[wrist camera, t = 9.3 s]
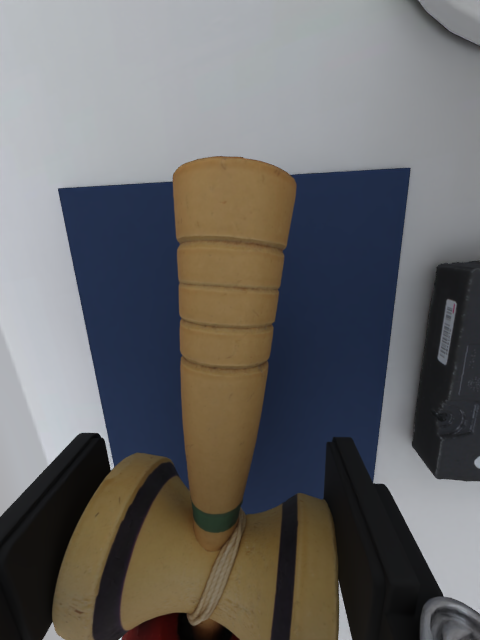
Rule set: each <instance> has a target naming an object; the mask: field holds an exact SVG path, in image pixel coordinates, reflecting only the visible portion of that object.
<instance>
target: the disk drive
mask: <svg viewBox="0 0 480 640" xmlns="http://www.w3.org/2000/svg"><path fill="white" fill-rule="evenodd" d="M414 429H415V431H414V435H413V441H412V446H413V448H414V449H415V450H416V452H417V453H418V455H419V456H420V457H421V459H422V460H423V461H424V463H425V464H426V466H427V467H428V468H429V469H430V471H431V472H432V473H433V475H434V476H435V477H436V478H437V479H452V480H462V481H480V261H472V262H468V263H459V262H457V263H452V264H448V263H444V264H440V265H438V266H437V270H436V280H435V283H434V291H433V296H432V300H431V306H430V313H429V320H428V328H427V336H426V344H425V350H424V358H423V365H422V371H421V378H420V387H419V394H418V399H417V407H416V414H415V427H414Z"/></svg>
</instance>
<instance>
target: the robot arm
mask: <svg viewBox="0 0 480 640" xmlns="http://www.w3.org/2000/svg"><path fill="white" fill-rule="evenodd" d="M418 1H419V2H420V4H421V5H422V6H423V8H424V9H425V10H426V12H427V13H429V14H430V15H431V16H432V17H433V18H435V19H436V20H437V21H438V22H439V23H441V24H442V25H443V26H444V27H445V28H447V29H448V30H449V31H450V32H452V33H454V34H456V35H458V36H460V37H462V38H464V39H466V40H469V41H471V42H473V43H475V44H477V45H479V46H480V0H418ZM110 472H111V470H110V465H109V460H108V455H107V450H106V445H105V441H104V439H103V438H101V437H100V435H99V434H98V433H80V434H79V435H77V436H76V437H75V439H74V440H73V441H72V442H71V443H70V444H69V445H68V446H67V447H66V448H65V449H64V450H63V451H62V452H61V453H60V454H59V455H58V456H57V458H56V459H55V460H54V461H53V462H52V463H51V464H50V465H49V466H48V467H47V468H46V469H45V470H44V471H43V472H42V474H40V475H39V477H38V478H37V479H36V480H35V481H34V482H33V483H32V484H31V485H30V486H29V487H28V488H27V489H26V490H25V491H24V492H23V493H22V495H21V496H20V497H19V498H18V499H17V500H16V501H15V502H14V503H13V504H12V505H11V506H10V507H9V508H8V509H7V510H6V511H5V512H4V513H3V515H2V516H1V517H0V640H42V639H43V638H44V636H45V634H46V633H47V631H48V629H49V627H50V625H51V623H52V607H53V598H54V593H55V588H56V583H57V579H58V575H59V571H60V568H61V564H62V561H63V558H64V555H65V552H66V549H67V547H68V544H69V542H70V539H71V537H72V534H73V532H74V530H75V528H76V526H77V524H78V522H79V520H80V518H81V516H82V514H83V512H84V510H85V508H86V506H87V505H88V503H89V501H90V500H91V498H92V496H93V495H94V493H95V492H96V490H97V489H98V487H99V486H100V484H101V483H102V482H103V480H104V479H105V477H106V476H107V475H108V474H109V473H110ZM323 499H324V500H325V501H326V502H327V504H328V507H329V509H330V511H331V514H332V517H333V522H334V526H335V536H336V545H337V555H338V579H339V584H340V588H341V593H342V597H343V601H344V606H345V610H346V614H347V619H348V623H349V627H350V632H351V636H352V640H480V614H479V613H478V612H476V611H475V610H473V609H472V608H470V607H469V606H467V605H466V604H464V603H462V602H460V601H457V600H455V599H452V598H449V597H444V596H443V594H442V592H441V590H440V588H439V586H438V584H437V582H436V580H435V578H434V576H433V574H432V572H431V570H430V569H429V567H428V565H427V563H426V561H425V559H424V557H423V555H422V553H421V551H420V549H419V547H418V545H417V543H416V541H415V540H414V538H413V536H412V534H411V532H410V530H409V528H408V526H407V524H406V522H405V520H404V518H403V516H402V514H401V512H400V511H399V509H398V507H397V505H396V503H395V501H394V499H393V497H392V495H391V493H390V491H389V490H388V488H387V487H386V486H385V485H384V484H373V482H372V480H371V478H370V475H369V473H368V471H367V469H366V467H365V465H364V463H363V460H362V458H361V456H360V454H359V452H358V450H357V448H356V445H355V443H354V441H353V439H352V438H351V437H333V439H332V442H327V444H326V461H325V479H324V498H323Z"/></svg>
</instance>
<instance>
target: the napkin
mask: <svg viewBox="0 0 480 640" xmlns="http://www.w3.org/2000/svg"><path fill="white" fill-rule="evenodd" d="M410 169H411V168H396V169H380V170H363V171H346V172H329V173H312V174H295V175H290V176H291V177H293V178H294V179H295V182H296V197H295V203H294V208H293V214H292V219H291V225H290V230H289V235H288V241H287V246H286V248H285V249H284V250H283V254H284V264H283V271H282V277H281V284H280V287H279V288H278V291H279V297H278V304H277V311H276V317H275V322H273V323H272V326H273V327H274V328H273V338H272V344H271V352H270V357H269V359H268V360H267V361H268V374H267V380H266V387H265V394H264V400H263V406H262V412H261V418H260V423H259V429H258V434H257V439H256V444H255V448H254V453H253V457H252V462H251V466H250V471H249V474H248V479H247V482H246V487H245V491H244V495H243V504H242V505H241V508H242V510H243V511H244V513H245V515H247V514H257V513H261V512H265V511H267V510H270V509H273V508H275V507H277V506H279V505H281V504H282V503H283V502H286V501H287V499H289V498H291V497H293V496H294V495H296V494H298V493H303V494H306V495H309V496H312V497H315V498H318V499H321V500H323V498H324V479H325V461H326V444H327V442H332V439H333V437H351V438H352V439H353V441H354V443H355V445H356V448H357V450H358V452H359V454H360V456H361V458H362V460H363V463H364V465H365V467H366V469H367V471H368V473H369V475H370V478H371V480H372V482H373V479H374V470H375V462H376V454H377V445H378V437H379V428H380V420H381V412H382V403H383V395H384V387H385V378H386V370H387V361H388V353H389V345H390V336H391V328H392V320H393V311H394V303H395V294H396V286H397V278H398V269H399V261H400V253H401V244H402V236H403V227H404V219H405V211H406V202H407V194H408V186H409V177H410ZM58 192H59V197H60V201H61V206H62V211H63V216H64V221H65V226H66V231H67V236H68V241H69V246H70V251H71V256H72V261H73V266H74V271H75V276H76V280H77V285H78V290H79V295H80V300H81V305H82V310H83V315H84V320H85V325H86V330H87V335H88V340H89V345H90V350H91V354H92V359H93V364H94V369H95V374H96V379H97V384H98V389H99V394H100V399H101V404H102V409H103V414H104V419H105V424H106V428H107V433H108V438H109V443H110V448H111V453H112V458H113V463H114V467H115V466H116V465H117V464H118V463H120V462H121V461H122V460H123V459H125V458H126V457H128V456H130V455H132V454H135V453H146V454H151V455H156V456H163V457H167V458H169V459H171V461H172V462H173V464H174V466H175V469H176V471H177V473H178V474H179V477H180V479H181V481H182V482H183V483H184V485H185V486H186V487H187V488H188V489H189V480H188V471H187V461H186V454H185V443H184V432H183V420H182V401H181V371H180V365H181V357H182V356H183V355H182V354H181V352H180V321H181V319H182V318H181V317H180V314H179V283H180V282H179V279H178V264H177V249H178V247H179V246H180V243H179V242H178V241H177V238H176V226H175V212H174V197H173V182H160V183H143V184H126V185H109V186H93V187H76V188H59V189H58ZM189 491H190V489H189Z"/></svg>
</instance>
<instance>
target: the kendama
mask: <svg viewBox="0 0 480 640" xmlns="http://www.w3.org/2000/svg"><path fill="white" fill-rule="evenodd" d="M173 197H174V212H175V226H176V238H177V241H178V242H179V243H180V246H179V247H178V249H177V264H178V279H179V282H180V283H179V314H180V317H181V318H182V319H181V321H180V352H181V354H182V355H183V356H182V357H181V365H180V371H181V401H182V420H183V432H184V443H185V454H186V461H187V471H188V480H189V489H190V491H189V489H188V488H187V487H186V486H185V485H184V483H183V482H182V481H181V479H180V477H179V474H178V473H177V471H176V469H175V466H174V464H173V462H172V461H171V459H169V458H167V457H163V456H156V455H151V454H146V453H135V454H132V455H130V456H128V457H126V458H125V459H123V460H122V461H121V462H120V463H118V464H117V465H116V466H115V467H114V468H113V469H112V470H111V472H110V473H109V474H108V475H107V476H106V477H105V479H104V480H103V482H102V483H101V484H100V486H99V487H98V489H97V490H96V492H95V493H94V495H93V496H92V498H91V500H90V501H89V503H88V505H87V506H86V508H85V510H84V512H83V514H82V516H81V518H80V520H79V522H78V524H77V526H76V528H75V530H74V532H73V534H72V537H71V539H70V542H69V544H68V547H67V549H66V552H65V555H64V558H63V561H62V564H61V568H60V571H59V575H58V579H57V583H56V588H55V593H54V598H53V607H52V622H53V624H54V627H55V631H56V633H57V634H58V635H59V636H61V637H62V638H63V639H65V640H119V639H120V638H121V637H122V636H123V637H122V640H338V633H339V583H338V555H337V545H336V536H335V526H334V522H333V517H332V514H331V511H330V509H329V507H328V504H327V502H326V501H325V500H324V499H323V500H321V499H318V498H315V497H312V496H309V495H306V494H303V493H298V494H296V495H294V496H293V497H291V498H289V499H287V501H286V502H283V503H282V504H281V505H279V506H277V507H275V508H273V509H270V510H267V511H265V512H261V513H257V514H247V515H245V513H244V511H243V510H242V508H241V505H242V504H243V495H244V491H245V487H246V482H247V479H248V474H249V471H250V466H251V462H252V457H253V453H254V448H255V444H256V439H257V434H258V429H259V423H260V418H261V412H262V406H263V400H264V394H265V387H266V380H267V374H268V361H267V360H268V359H269V357H270V352H271V344H272V338H273V328H274V327H273V326H272V323H273V322H275V317H276V311H277V304H278V297H279V291H278V288H279V287H280V284H281V277H282V271H283V264H284V254H283V250H284V249H285V248H286V246H287V241H288V235H289V230H290V225H291V219H292V214H293V208H294V203H295V197H296V182H295V179H294V178H293V177H291V176H290V175H289V174H288V173H287V172H286V171H284V170H282V169H280V168H278V167H276V166H274V165H271V164H268V163H265V162H262V161H257V160H252V159H245V158H243V157H223V156H215V157H208V158H202V159H197V160H194V161H191V162H188V163H185V164H183V165H181V166H180V167H178V169H177V170H176V171H175V173H174V174H173Z"/></svg>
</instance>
